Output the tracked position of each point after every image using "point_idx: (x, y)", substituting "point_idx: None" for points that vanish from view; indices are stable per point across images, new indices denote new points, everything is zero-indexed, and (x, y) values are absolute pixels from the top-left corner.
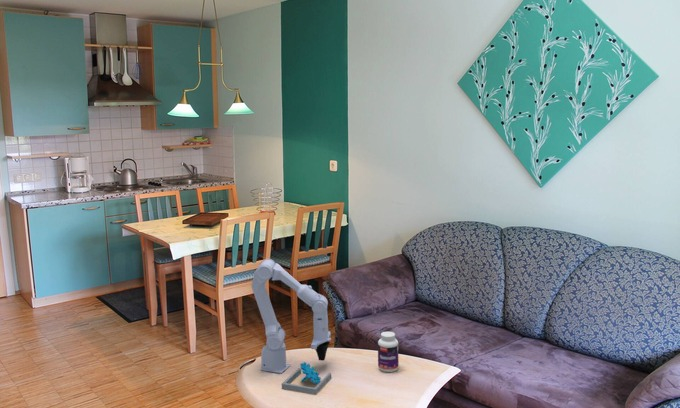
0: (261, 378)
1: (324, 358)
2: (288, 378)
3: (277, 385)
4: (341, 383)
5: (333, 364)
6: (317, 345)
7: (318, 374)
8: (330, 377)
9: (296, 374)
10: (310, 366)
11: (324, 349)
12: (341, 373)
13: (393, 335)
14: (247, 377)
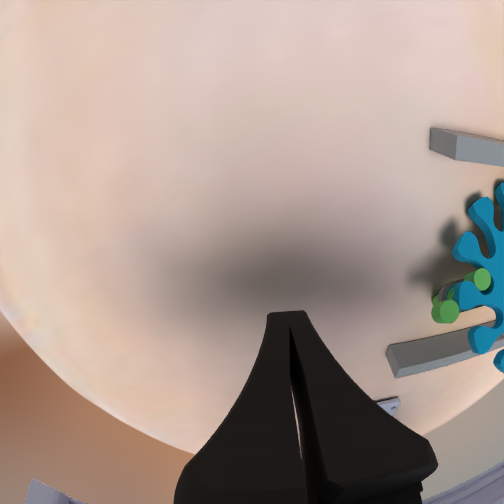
0: (433, 410)
1: (291, 320)
2: (499, 344)
3: None
4: (469, 32)
5: (170, 228)
6: (467, 492)
7: (464, 236)
8: (453, 132)
9: (444, 348)
10: (485, 326)
11: (390, 419)
12: (317, 70)
13: None
14: (422, 430)
